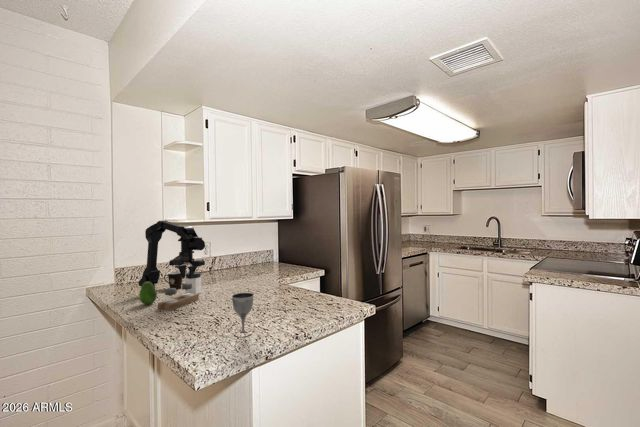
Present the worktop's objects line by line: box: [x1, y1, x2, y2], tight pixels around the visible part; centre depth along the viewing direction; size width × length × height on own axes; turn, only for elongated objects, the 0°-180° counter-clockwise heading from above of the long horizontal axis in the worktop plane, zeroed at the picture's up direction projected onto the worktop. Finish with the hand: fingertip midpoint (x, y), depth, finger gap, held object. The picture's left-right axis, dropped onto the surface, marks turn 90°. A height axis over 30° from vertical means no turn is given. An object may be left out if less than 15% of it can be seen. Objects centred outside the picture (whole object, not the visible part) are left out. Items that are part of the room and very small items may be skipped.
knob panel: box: [157, 293, 199, 312], centre depth 159 cm, size 8×20×3 cm, turn 164°
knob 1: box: [164, 287, 177, 297], centre depth 153 cm, size 5×5×3 cm
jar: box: [184, 271, 202, 295], centre depth 181 cm, size 9×8×12 cm
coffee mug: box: [163, 271, 183, 291], centre depth 194 cm, size 12×9×10 cm
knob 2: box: [181, 282, 192, 290], centre depth 165 cm, size 5×5×3 cm
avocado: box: [139, 281, 158, 306], centre depth 159 cm, size 8×8×12 cm
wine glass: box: [231, 292, 254, 333], centre depth 118 cm, size 8×8×15 cm
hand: (187, 278), depth 165 cm, fingers open, 4 cm apart
